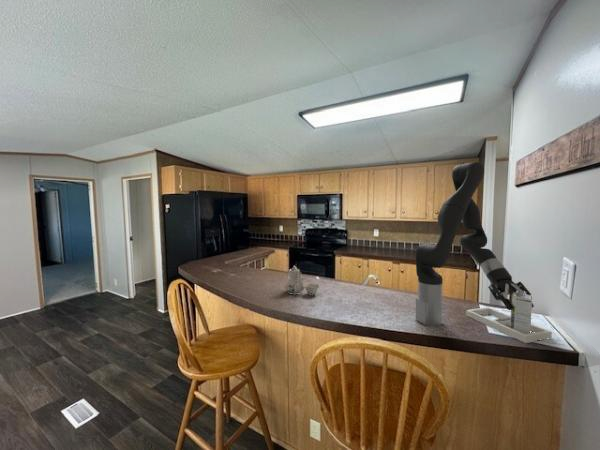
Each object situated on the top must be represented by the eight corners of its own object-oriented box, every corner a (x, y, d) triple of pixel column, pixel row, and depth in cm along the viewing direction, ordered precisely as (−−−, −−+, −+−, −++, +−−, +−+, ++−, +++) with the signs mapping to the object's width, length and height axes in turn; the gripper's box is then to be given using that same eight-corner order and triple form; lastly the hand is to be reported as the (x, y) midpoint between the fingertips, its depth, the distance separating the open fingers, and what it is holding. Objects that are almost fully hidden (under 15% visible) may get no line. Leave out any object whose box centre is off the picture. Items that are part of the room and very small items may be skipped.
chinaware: (324, 298, 144) (326, 269, 144) (300, 301, 135) (302, 270, 134) (297, 286, 167) (299, 261, 167) (275, 288, 158) (277, 261, 158)
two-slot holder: (525, 343, 90) (525, 335, 90) (465, 315, 114) (466, 309, 113) (551, 338, 93) (551, 331, 93) (488, 312, 116) (488, 306, 116)
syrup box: (510, 326, 101) (511, 291, 100) (530, 331, 98) (531, 294, 97) (510, 332, 97) (511, 295, 96) (531, 337, 93) (532, 299, 92)
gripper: (486, 267, 103) (512, 305, 93) (516, 266, 105) (545, 303, 95) (475, 277, 109) (498, 314, 98) (503, 275, 111) (530, 311, 100)
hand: (521, 308), depth 96 cm, fingers open, 8 cm apart
